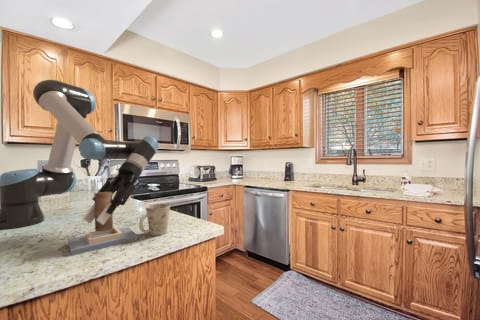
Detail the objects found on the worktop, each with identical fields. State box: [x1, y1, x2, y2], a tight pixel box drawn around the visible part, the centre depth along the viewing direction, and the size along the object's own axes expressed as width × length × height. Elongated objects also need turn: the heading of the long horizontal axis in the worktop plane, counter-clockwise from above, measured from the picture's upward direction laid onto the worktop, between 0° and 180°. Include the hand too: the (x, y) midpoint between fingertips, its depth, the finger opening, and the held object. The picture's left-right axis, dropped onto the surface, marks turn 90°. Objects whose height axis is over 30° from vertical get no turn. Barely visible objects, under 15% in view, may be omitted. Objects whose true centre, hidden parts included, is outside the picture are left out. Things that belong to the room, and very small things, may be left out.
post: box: [94, 192, 114, 231], centre depth 72 cm, size 5×5×12 cm
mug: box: [138, 203, 171, 236], centre depth 79 cm, size 8×13×10 cm, turn 158°
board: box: [67, 226, 139, 256], centre depth 72 cm, size 12×18×3 cm, turn 132°
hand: (93, 221), depth 69 cm, fingers closed on post, 5 cm apart
